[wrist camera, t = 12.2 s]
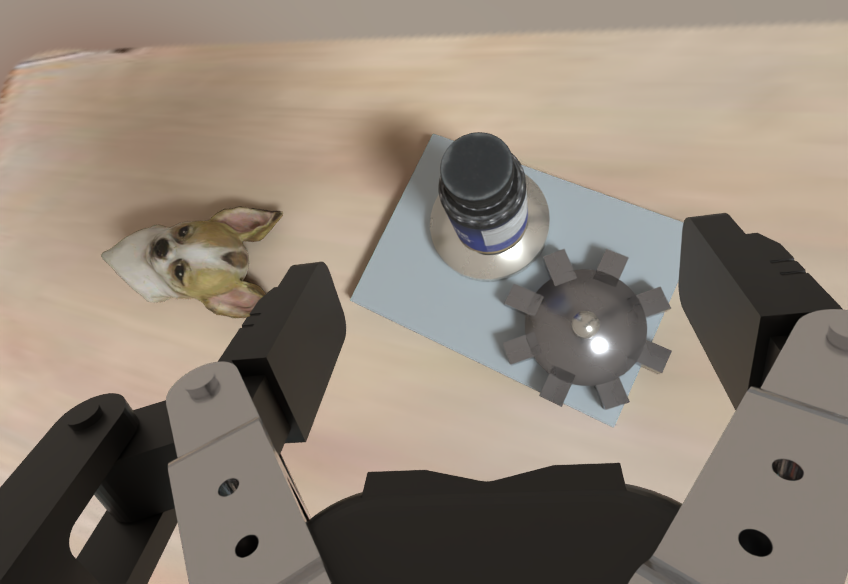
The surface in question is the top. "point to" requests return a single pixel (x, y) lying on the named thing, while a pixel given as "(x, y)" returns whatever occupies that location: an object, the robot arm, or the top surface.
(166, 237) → the ceramic sculpture
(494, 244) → the pill bottle
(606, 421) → the gear board
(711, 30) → the top surface
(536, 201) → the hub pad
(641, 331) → the gear
